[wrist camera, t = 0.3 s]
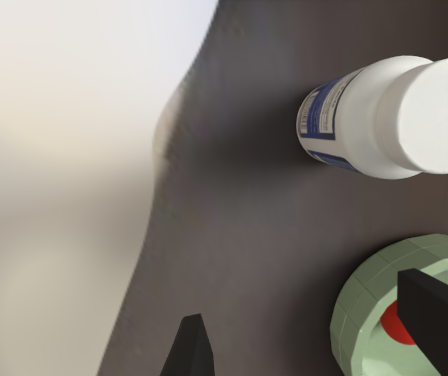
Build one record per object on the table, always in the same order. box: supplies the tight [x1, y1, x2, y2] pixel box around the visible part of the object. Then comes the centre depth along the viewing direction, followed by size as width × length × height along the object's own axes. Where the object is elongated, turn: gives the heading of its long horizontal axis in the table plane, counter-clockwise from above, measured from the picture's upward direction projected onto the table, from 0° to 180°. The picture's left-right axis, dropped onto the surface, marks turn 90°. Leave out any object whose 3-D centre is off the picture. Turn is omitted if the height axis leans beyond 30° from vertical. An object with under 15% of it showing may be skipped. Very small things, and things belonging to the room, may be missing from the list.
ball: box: [380, 299, 416, 345], centre depth 20 cm, size 3×3×3 cm
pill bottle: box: [296, 56, 448, 179], centre depth 15 cm, size 5×5×10 cm
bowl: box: [330, 234, 448, 376], centre depth 21 cm, size 15×15×4 cm
